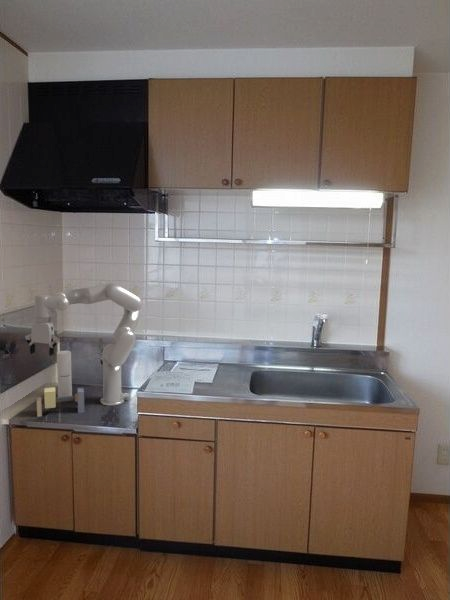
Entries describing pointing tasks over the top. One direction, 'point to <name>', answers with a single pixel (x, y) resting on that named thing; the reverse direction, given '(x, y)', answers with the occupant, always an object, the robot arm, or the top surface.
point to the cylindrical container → (64, 373)
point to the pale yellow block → (50, 397)
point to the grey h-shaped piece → (78, 398)
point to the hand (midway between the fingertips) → (42, 354)
